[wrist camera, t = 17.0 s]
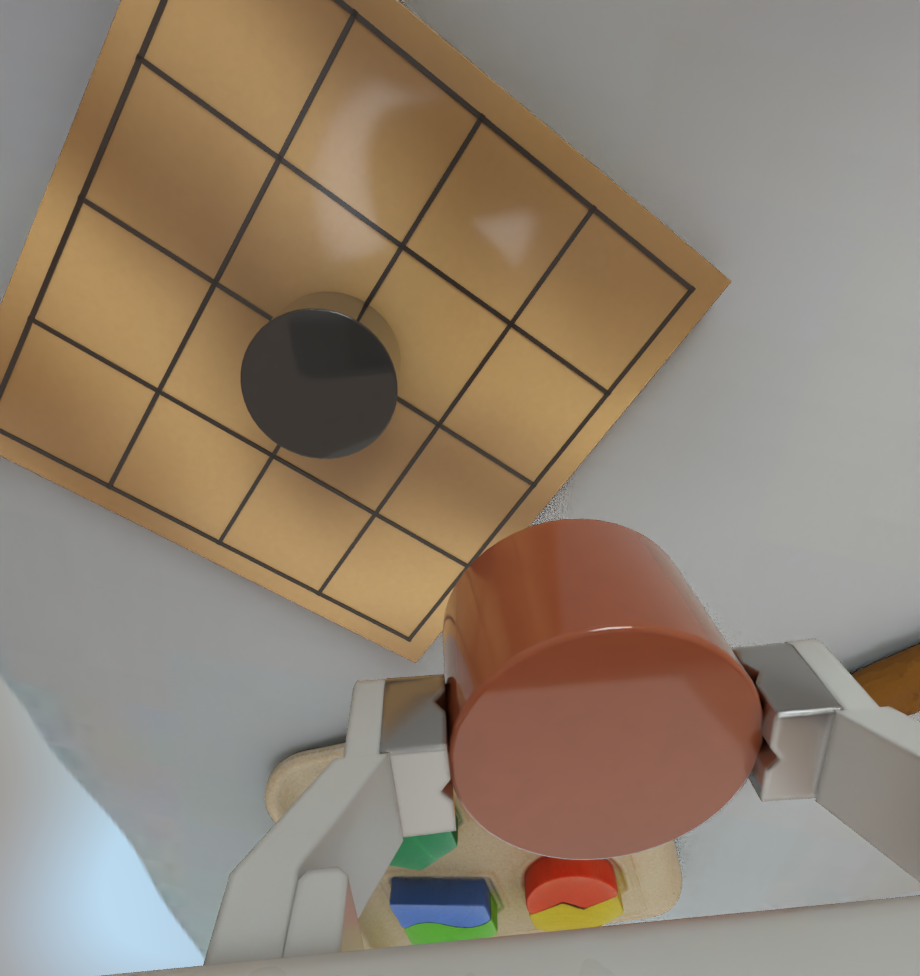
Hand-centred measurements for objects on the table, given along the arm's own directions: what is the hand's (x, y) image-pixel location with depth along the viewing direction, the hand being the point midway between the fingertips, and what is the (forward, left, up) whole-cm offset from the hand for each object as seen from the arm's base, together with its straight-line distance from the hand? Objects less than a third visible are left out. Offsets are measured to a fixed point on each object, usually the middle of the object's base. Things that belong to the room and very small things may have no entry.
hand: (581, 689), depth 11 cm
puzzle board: (+20, +14, -16) cm, 29 cm away
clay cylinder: (0, 0, -2) cm, 2 cm away
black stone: (+2, -6, -14) cm, 16 cm away
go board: (+2, -6, -16) cm, 17 cm away
